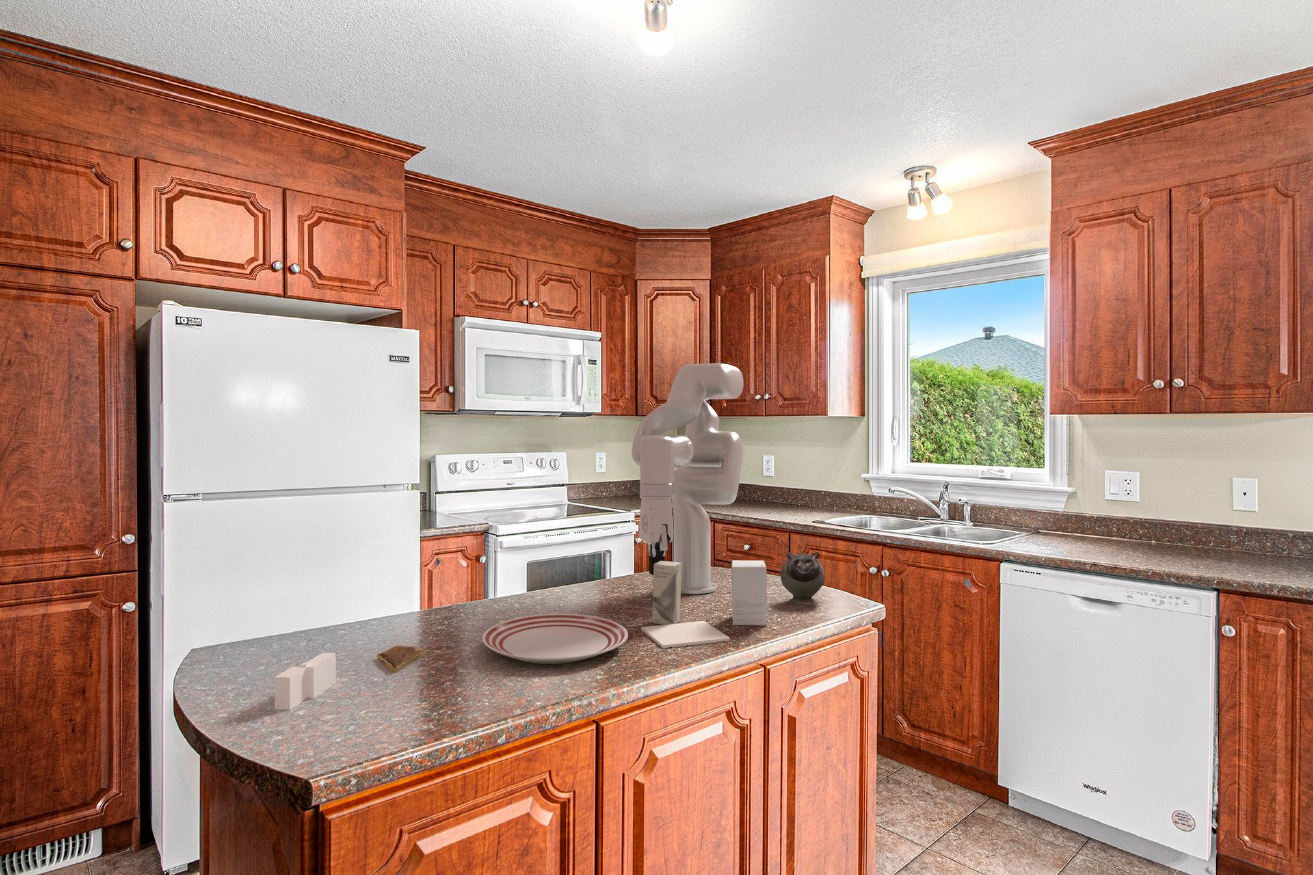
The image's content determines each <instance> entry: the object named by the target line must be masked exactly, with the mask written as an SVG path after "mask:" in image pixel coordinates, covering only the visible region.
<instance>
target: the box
mask: <svg viewBox="0 0 1313 875" xmlns="http://www.w3.org/2000/svg"><path fill="white" fill-rule="evenodd" d="M681 565H682V563H680V562H674V561H666V560H665V561H659V562H657V563H655V564H654V575H652V576H653V583H652V586H653V587H652V588H653V589H652V591H653V592H652V623H653V624H657V625H668V624H678V623H679V622H680V621H681V598H682V597H681V594H682V593H681Z"/></svg>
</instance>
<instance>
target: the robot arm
mask: <svg viewBox="0 0 1313 875" xmlns="http://www.w3.org/2000/svg"><path fill="white" fill-rule="evenodd" d="M743 390H744V377H743V373H742V372H741V370H740V369H739V368H738V367H736V366H733V365H730V364H727V363H722V362H717V363H716V362H715V363H714V362H713V363H711V362H710V363H690V364H686V365H683V366H682V367H680V368H679V369H678V371H677V372H676V375H675V378H674V380H673V383H672V386H671V388H670V392H669V394H668V396H667V399H666V401H665V402H664V403H662V404H660V406H658V407H657V408H655V409H654V410H652V411H651V412H649V413H647V415H646V416H645V417H644V418H643V419H642V420H641V421H640V422H639V425H638V427H637V429H636V432H635V435H634V438H633V441H632V444H631V457H632V460H633V462H634V463H635V464H637V465H638V466H639V498H640V499H641V501H640V502H641V503H640V507H639V508H640V511H639V528H638V529H639V531H638V535H639V536H638V537H639V540H641V541H642V542H645V543H646V544H647V545H648V546H647V547H648V548H647V550H648V573H649V574H650V575H652V576H654V564H655V563H657V562H659V561H666V552H667V551H668V549H669V547H668V544H671V543H672V542H673V562H680V563H682V565H681V594H683V595H701V594H702V595H703V594H710V593H713V592H715V591H716V590H717V588H718V586H717V584H716V583H715V582H713V581H711V580H712V579H711V578H712V577H711V572H712V571H711V568H712V567H711V563H712V562H711V560H712V557H711V552H712V550H711V549H712V548H711V546H712V545H711V533H712V531H711V529H712V528H711V520H710V516H709V514H708V513H707V512H706V510H705V509H704V507H703V506H702V505H719V506H720V505H723V506H724V505H725V506H726V505H732V504H733V503H734V502H735V501H736V499H737V496H738V492H739V485H740V478H741V470H742V464H743V463H742V462H743V456H744V446H743V441H742V438H741V436H740V435H739V434H738V433H737V432H735V431H729V430H728V431H726V430H720V431H719V425H720V417H719V416H718V414H717V413H716V411H715V410H714V409H713V407H712V406H711V405H710V404H708V402H707V401H706V400H734V399H738V398H739V397H740V396H741V395H742V392H743ZM685 426H686V428H685V434H684V435H682V434H665V433H668V432H670V431H673V430H676V429H679V428H682V427H685ZM687 465H688V466H687Z"/></svg>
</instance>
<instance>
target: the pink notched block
mask: <svg viewBox="0 0 1313 875" xmlns="http://www.w3.org/2000/svg"><path fill="white" fill-rule="evenodd" d="M336 683H337V654H336V652H328V653H327V652H321V653H320V654H318V655H317V656H315V657H313V658H312V659H310V660H308V661H304V662H303V663H301V664H300V666H291V667H289V668H288V669H286V670H284V671H283V672H281V673H280V674H277V675H276V676H274V710H277V711H278V710H280V711H282V710H285V711H287V710H288V711H291V710H292V709H293V708H295V707H296V706H298V705H300V703H302V702H304V701H305V700H307V699H315V698H317V697H318V696H319V695H321V694H322V693H324V692H325V691H326V690H327V689H329V688H330V687H332V686H334V685H335V684H336Z"/></svg>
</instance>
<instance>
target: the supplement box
mask: <svg viewBox="0 0 1313 875" xmlns="http://www.w3.org/2000/svg"><path fill="white" fill-rule="evenodd" d="M767 576H768V574H767V565H766V563H765V561H764V560H737V559H736V560H734V559H733V560H731V615H732V616H731V617H732V626H767V625H768V617H767V614H768V613H767V612H768V611H767V610H768V609H767V608H768V607H767V606H768V604H767V601H768V600H767V597H768V594H767V593H768V590H767V584H768V583H767V582H768V581H767V578H768V577H767Z"/></svg>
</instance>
